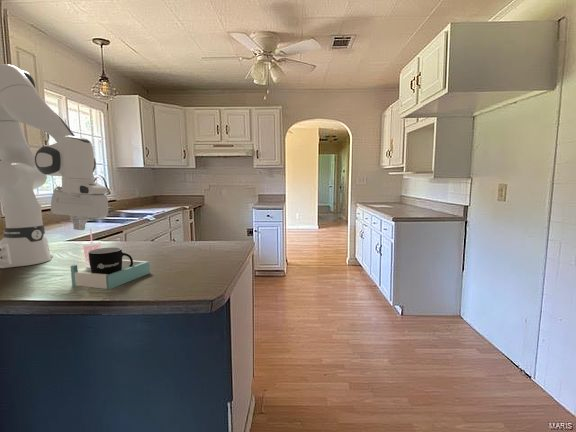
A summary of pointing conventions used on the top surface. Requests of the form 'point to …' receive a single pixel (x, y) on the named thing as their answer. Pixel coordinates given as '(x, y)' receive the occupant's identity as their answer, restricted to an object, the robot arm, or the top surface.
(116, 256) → the mug
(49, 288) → the top surface
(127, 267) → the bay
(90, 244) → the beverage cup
